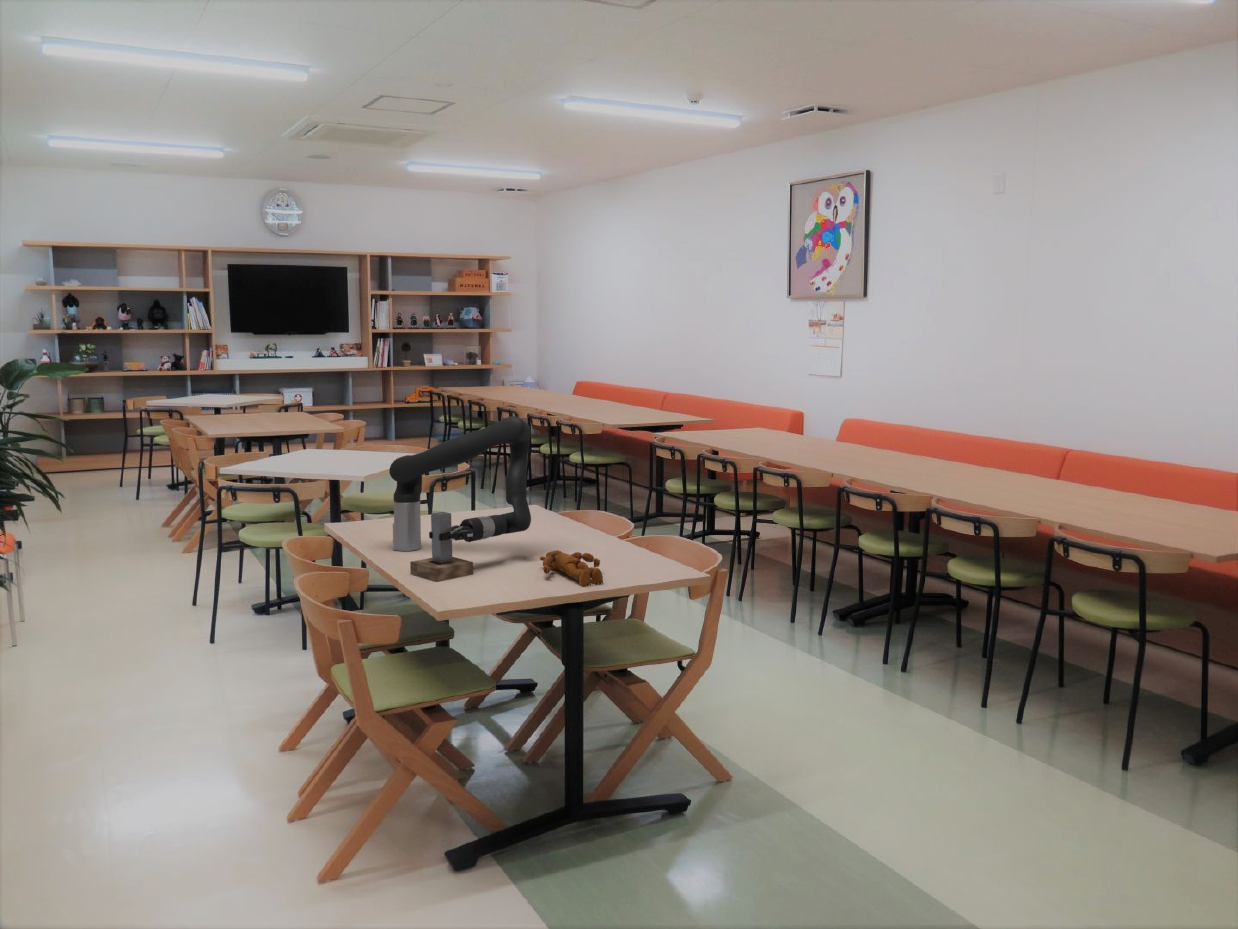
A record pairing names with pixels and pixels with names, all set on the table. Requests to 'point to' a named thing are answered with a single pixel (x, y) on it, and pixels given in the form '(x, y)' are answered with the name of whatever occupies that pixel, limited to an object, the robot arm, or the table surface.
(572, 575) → the toy
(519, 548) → the table surface
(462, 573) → the wooden block with hole
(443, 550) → the post
